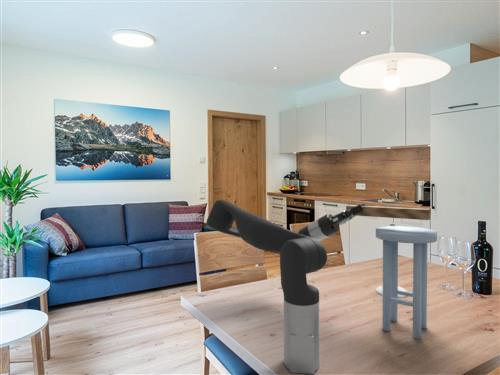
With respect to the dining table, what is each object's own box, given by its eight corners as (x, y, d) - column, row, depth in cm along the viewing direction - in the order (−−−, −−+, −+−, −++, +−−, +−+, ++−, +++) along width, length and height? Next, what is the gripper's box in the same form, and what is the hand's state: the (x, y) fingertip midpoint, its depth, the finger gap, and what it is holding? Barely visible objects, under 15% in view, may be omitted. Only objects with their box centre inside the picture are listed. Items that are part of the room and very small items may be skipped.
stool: (440, 325, 113) (441, 229, 112) (430, 347, 99) (431, 237, 98) (383, 312, 124) (384, 224, 123) (367, 330, 109) (368, 231, 108)
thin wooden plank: (430, 219, 107) (430, 208, 107) (428, 220, 105) (428, 209, 105) (349, 214, 123) (349, 205, 123) (346, 214, 120) (346, 205, 120)
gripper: (335, 234, 132) (375, 214, 123) (319, 239, 121) (362, 218, 111) (326, 216, 134) (364, 196, 125) (310, 220, 123) (351, 198, 113)
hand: (363, 206), depth 118 cm, fingers closed on thin wooden plank, 3 cm apart
